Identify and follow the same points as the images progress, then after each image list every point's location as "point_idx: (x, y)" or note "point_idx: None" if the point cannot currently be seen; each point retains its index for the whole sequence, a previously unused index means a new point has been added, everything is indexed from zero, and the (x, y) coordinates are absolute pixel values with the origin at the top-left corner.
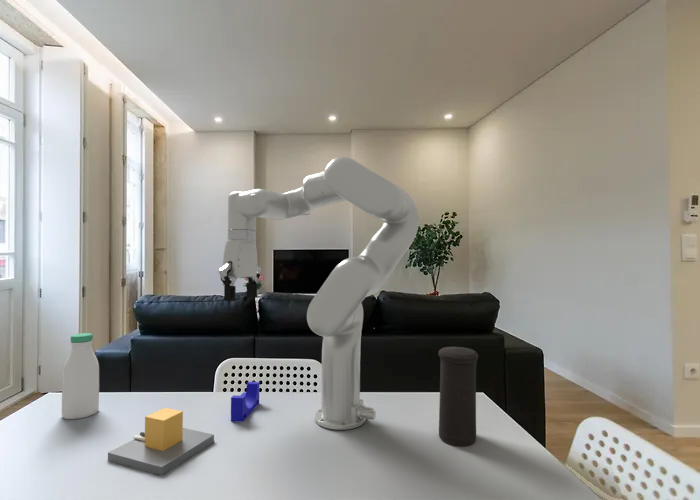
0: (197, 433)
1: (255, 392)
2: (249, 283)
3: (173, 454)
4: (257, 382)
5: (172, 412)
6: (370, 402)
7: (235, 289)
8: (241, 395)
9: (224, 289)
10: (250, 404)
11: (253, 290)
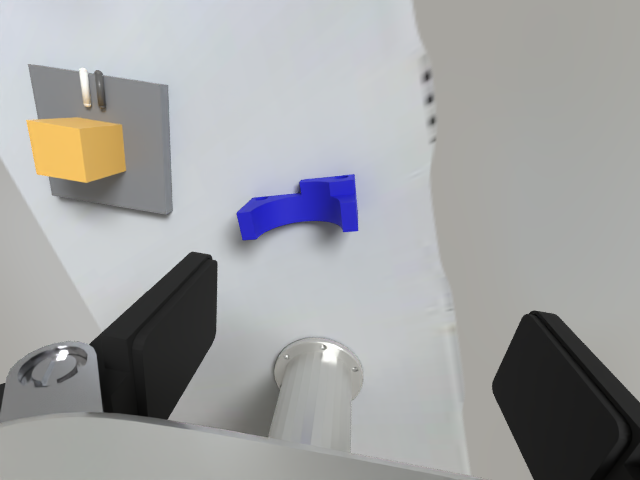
0: (156, 182)
1: (338, 222)
2: (616, 467)
3: (84, 188)
4: (353, 227)
5: (71, 164)
6: (405, 405)
7: (167, 415)
8: (331, 185)
9: (134, 306)
10: (314, 214)
11: (527, 427)
